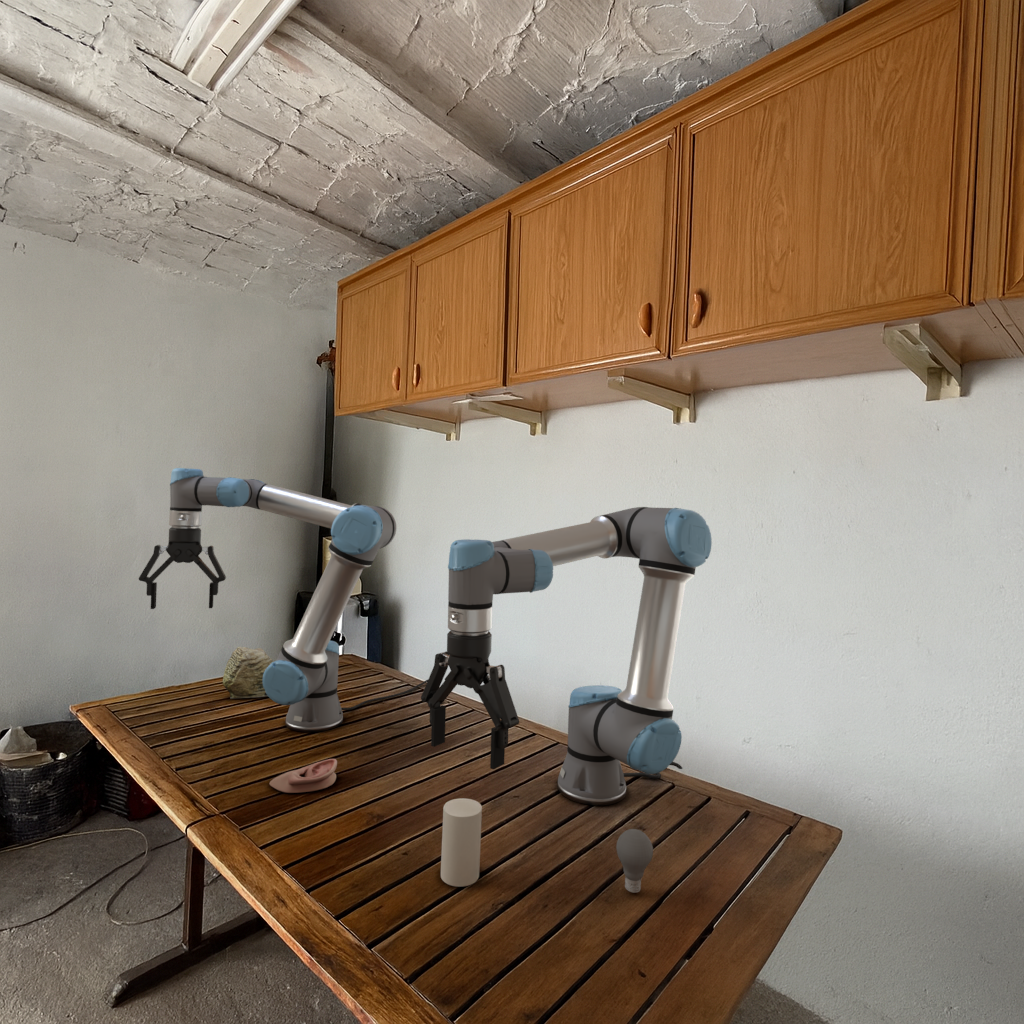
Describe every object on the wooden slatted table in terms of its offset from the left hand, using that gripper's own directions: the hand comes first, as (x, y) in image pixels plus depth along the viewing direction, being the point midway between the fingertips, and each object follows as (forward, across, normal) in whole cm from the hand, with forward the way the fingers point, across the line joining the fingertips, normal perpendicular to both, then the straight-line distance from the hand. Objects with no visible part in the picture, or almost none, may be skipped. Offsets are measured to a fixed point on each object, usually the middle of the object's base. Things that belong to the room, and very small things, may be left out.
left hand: (182, 607), depth 166 cm
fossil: (+32, +17, +27) cm, 45 cm away
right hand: (+12, +56, -82) cm, 100 cm away
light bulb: (+32, +82, -94) cm, 129 cm away
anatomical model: (+32, +31, -40) cm, 60 cm away
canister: (+32, +55, -82) cm, 104 cm away
